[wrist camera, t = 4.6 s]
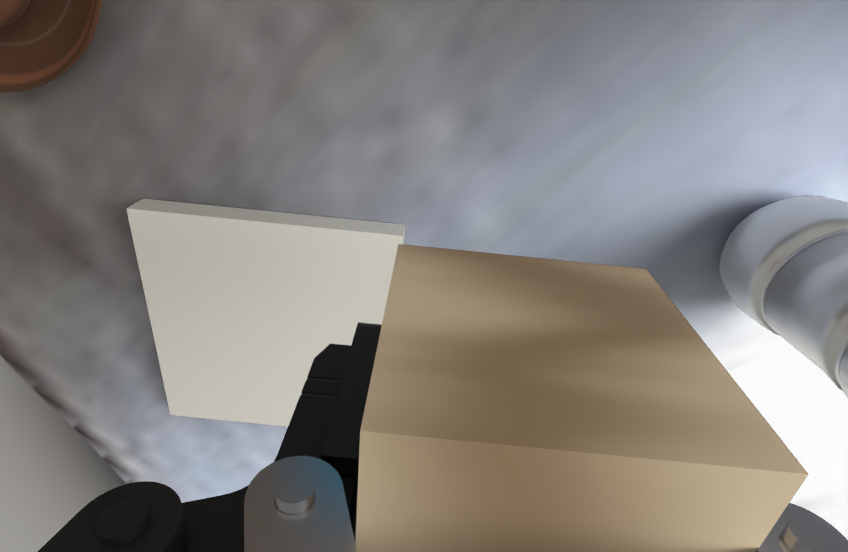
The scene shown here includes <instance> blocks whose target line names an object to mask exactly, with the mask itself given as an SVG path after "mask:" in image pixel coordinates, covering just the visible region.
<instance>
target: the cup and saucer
mask: <svg viewBox="0 0 848 552" xmlns="http://www.w3.org/2000/svg"><path fill="white" fill-rule="evenodd" d="M101 7H102V0H0V92H12V91H22V90H27V89H31V88H35V87H38V86H41V85H43V84H46V83H48V82H50V81H52V80H54V79H55V78H57V77H59V76H60V75H62V74H63V73H65V72H66V71H67V70H68V69H70V68H71V67H72V66H73V65H74V64H75V63H76V62H77V61H78V60H79V58H80V57H81V56H82V55H83V53H84V52H85V50H86V49H87V47H88V46H89V44H90V42H91V40H92V38H93V36H94V33H95V30H96V27H97V24H98V21H99V17H100V12H101Z"/></svg>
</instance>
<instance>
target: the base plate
mask: <svg viewBox="0 0 848 552" xmlns="http://www.w3.org/2000/svg"><path fill="white" fill-rule="evenodd" d="M126 210H127V214H128V219H129V224H130V228H131V233H132V238H133V242H134V247H135V252H136V256H137V261H138V266H139V270H140V275H141V280H142V284H143V289H144V294H145V298H146V303H147V308H148V312H149V317H150V322H151V326H152V331H153V336H154V340H155V345H156V350H157V354H158V359H159V364H160V368H161V373H162V378H163V382H164V387H165V392H166V396H167V401H168V406H169V410H170V415H177V416H187V417H197V418H207V419H217V420H227V421H237V422H247V423H257V424H267V425H277V426H287V427H288V426H289V423H290V421H291V418H292V416H293V413H294V410H295V408H296V405H297V402H298V400H299V397H300V396H301V393H302V389H303V387H304V384H305V381H306V380H307V376H308V373H309V371H310V368H311V366H312V363H313V360H314V358H315V357H316V356H317V355H318V354H319V353H320V352H322V351H323V350H324V349H325V348H326V347H327V346H328V345H329V344H340V345H350V346H351V345H352V341H353V338H354V334H355V331H356V327H357V324H358V322H361V323H371V324H381V325H382V322H383V317H384V312H385V307H386V302H387V297H388V292H389V288H390V283H391V278H392V273H393V268H394V263H395V258H396V253H397V248H398V244H403V245H404V238H405V225H404V224H394V223H384V222H374V221H364V220H354V219H344V218H333V217H323V216H313V215H303V214H293V213H283V212H273V211H263V210H253V209H243V208H233V207H223V206H213V205H203V204H192V203H182V202H172V201H162V200H152V199H141V200H140V201H138V202H136V203H135V204H133V205H131V206H130V207H128V208H126Z"/></svg>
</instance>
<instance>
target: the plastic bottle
mask: <svg viewBox="0 0 848 552" xmlns="http://www.w3.org/2000/svg"><path fill="white" fill-rule="evenodd" d="M719 268H720V276H721V279H722V282H723V284H724V286H725V288H726V290H727V292H728V293H729V295H730V297H731V299H732V300H733V302H734V303H735V304H736V306H737V307H738V308H739V309H740V310H742V311H743V312H744V313H745V314H747V315H748V316H749V317H751V318H752V319H753V320H755V321H756V322H758V323H759V324H760V325H762V326H763V327H765V328H766V329H768V330H770V331H772V332H773V333H775V334H777V335H779V336H781V337H782V338H784V339H785V340H786V341H787V342H788V343H790V344H791V345H792V346H793V347H795V348H796V349H797V350H798V351H800V352H801V353H802V354H803V355H804V356H806V357H807V358H808V359H809V360H811V361H812V362H813V363H814V364H815V365H817V366H818V367H819V368H820V369H822V370H823V371H824V372H825V373H826V374H827V375H828V377H829V378H830V379H831V380H832V381H833V382H834V383H835V384H836V386H837V387H838V388H839V389H841V390H842V391H843V392H844V393H845V395H846V396H847V398H848V203H847V202H843V201H839V200H835V199H831V198H827V197H823V196H814V195H803V196H794V197H790V198H786V199H782V200H779V201H776V202H773V203H771V204H769V205H766V206H764V207H762V208H760V209H758V210H756V211H755V212H753V213H751V214H750V215H748V216H747V217H746V218H745V219H744V220H742V221H741V222H740V223H739V224H738V225H737V226H736V228H735V229H734V230H733V231H732V233H731V234H730V236H729V237H728V239H727V241H726V243H725V246H724V248H723V251H722V253H721V258H720V263H719Z"/></svg>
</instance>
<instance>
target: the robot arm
mask: <svg viewBox="0 0 848 552" xmlns="http://www.w3.org/2000/svg"><path fill="white" fill-rule="evenodd" d="M381 327H382V325H381V324H371V323H361V322H358V324H357V327H356V331H355V334H354V338H353V341H352V345H351V346H350V345H340V344H329V345H328V346H327V347H326V348H325V349H324V350H323V351H322V352H320V353H319V354H318V355H317V356H316V357H315V358H314V360H313V363H312V366H311V368H310V371H309V373H308V376H307V380H306V381H305V384H304V387H303V389H302V393H301V396H300V397H299V400H298V402H297V405H296V408H295V410H294V413H293V416H292V418H291V421H290V423H289V426H288V429H287V431H286V434H285V437H284V439H283V442H282V444H281V447H280V450H279V452H278V455H277V457H276V459H275V461H274V463H272V464H270V465H268V466H267V467H265V468H264V469H263V470H261V471H260V472H259V473H258V474H257V475H256V476H255V477H254V479H253V480H252V481H251V483H250V485H249V486H247V487H245V488H243V489H241V490H238V491H235V492H233V493H229V494H225V495H221V496H216V497H211V498H206V499H201V500H195V501H190V502H185V503H181V501H180V498H179V496H178V495H177V494H176V492H175V491H174V490H172V489H171V488H170V487H168V486H166V485H164V484H161V483H156V482H135V483H130V484H126V485H123V486H119V487H117V488H114V489H112V490H110V491H107V492H106V493H104V494H102V495H100V496H99V497H97V498H95V499H94V500H93V501H91V502H90V503H89V504H87V505H86V506H85V507H84V508H83V509H82V510H81V511H79V512H78V513H77V514H76V515H75V516H74V517H73V518H72V519H71V520H70V521H69V522H68V523H67V524H66V525H65V526H64V527H63V528H62V529H61V530H60V531H59V532H58V533H57V534H56V535H55V536H54V537H52V538H51V540H49V541H48V542H47V543H46V544H45V545H44V546H43V547H42V548H41V549H40V550H39V551H38V552H357V550H356V545H355V541H356V517H357V493H358V470H359V446H360V429H361V424H362V419H363V414H364V410H365V405H366V400H367V395H368V390H369V385H370V380H371V375H372V371H373V366H374V361H375V356H376V351H377V346H378V341H379V336H380V331H381ZM756 552H848V540H847V539H846V538H845V537H844V536H843V535H842V534H841V533H840V532H839V531H838V530H836V529H835V528H834V527H833V526H832V525H830V524H829V523H828V522H826V521H825V520H823V519H822V518H821V517H819V516H817V515H816V514H814V513H812V512H810V511H808V510H806V509H804V508H802V507H799V506H797V505H794V504H791V503H789V504H788V505H787V507H786V508H785V510H784V511H783V513H782V514H781V516H780V517H779V519H778V520H777V522H776V523H775V525H774V526H773V528H772V529H771V531H770V532H769V534H768V535H767V537H766V538H765V540H764V541H763V543H762V544H761V546H760V547H759V548H758V549H757V550H756Z"/></svg>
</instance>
